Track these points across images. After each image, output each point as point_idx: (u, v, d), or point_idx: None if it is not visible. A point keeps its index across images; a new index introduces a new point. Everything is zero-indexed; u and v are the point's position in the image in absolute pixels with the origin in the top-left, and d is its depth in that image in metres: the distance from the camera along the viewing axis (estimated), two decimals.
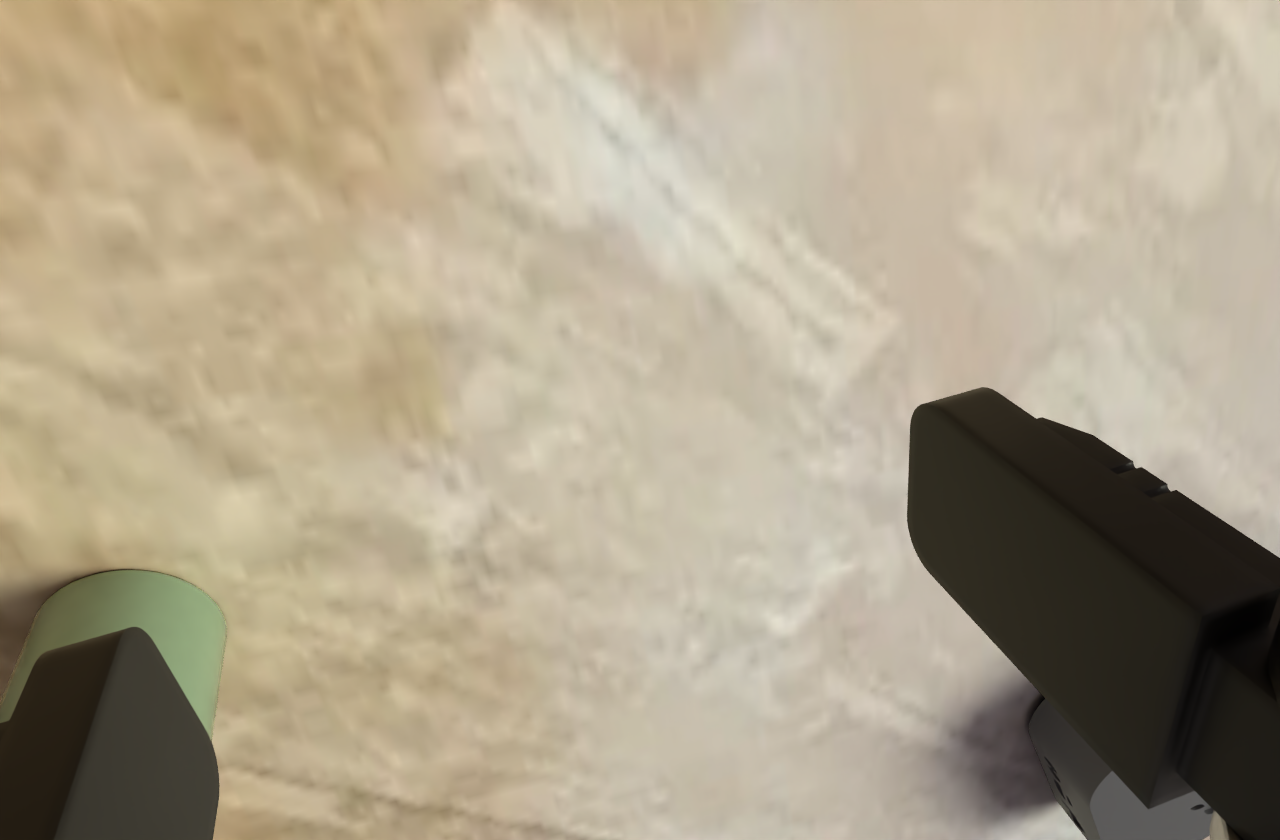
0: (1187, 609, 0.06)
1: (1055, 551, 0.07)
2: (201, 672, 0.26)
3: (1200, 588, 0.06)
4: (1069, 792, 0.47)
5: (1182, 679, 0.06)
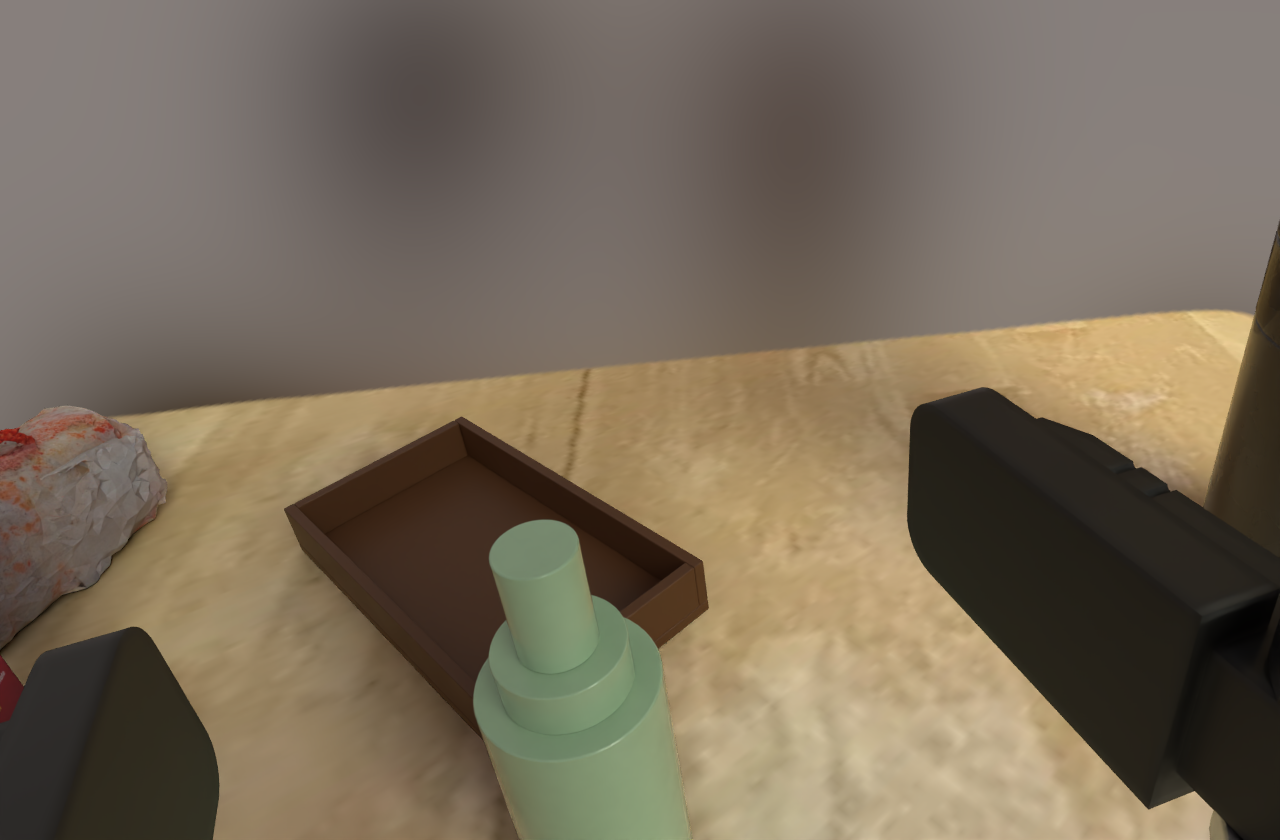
0: (1187, 609, 0.06)
1: (1055, 551, 0.07)
2: None
3: (1200, 588, 0.06)
4: None
5: (1182, 679, 0.06)
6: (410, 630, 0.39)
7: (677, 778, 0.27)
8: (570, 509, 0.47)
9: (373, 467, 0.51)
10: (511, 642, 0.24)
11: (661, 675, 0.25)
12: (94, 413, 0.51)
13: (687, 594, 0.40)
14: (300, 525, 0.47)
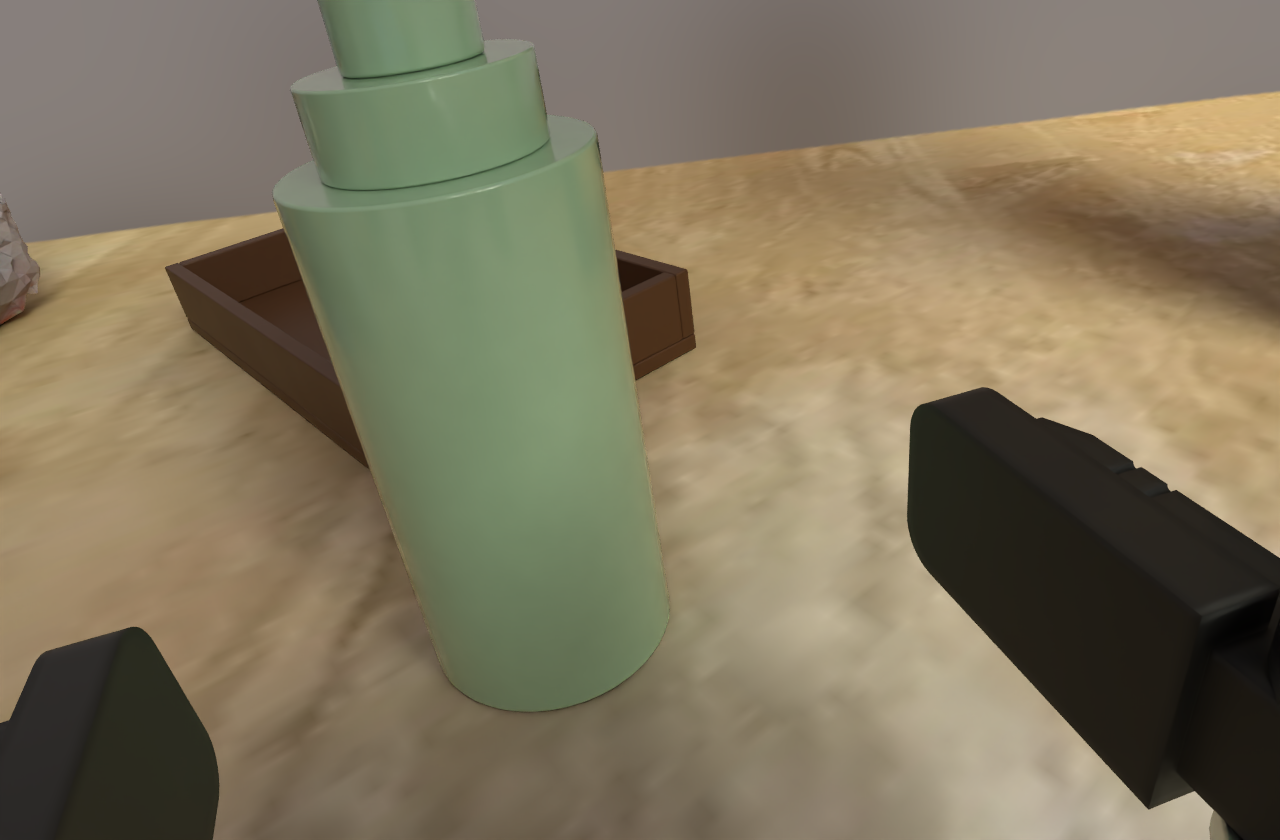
0: (1186, 609, 0.06)
1: (1055, 551, 0.07)
2: (626, 552, 0.17)
3: (1200, 588, 0.06)
4: None
5: (1182, 679, 0.06)
6: (290, 347, 0.29)
7: (626, 368, 0.16)
8: None
9: (283, 231, 0.41)
10: (336, 73, 0.14)
11: (593, 138, 0.15)
12: None
13: (666, 314, 0.30)
14: (180, 278, 0.37)
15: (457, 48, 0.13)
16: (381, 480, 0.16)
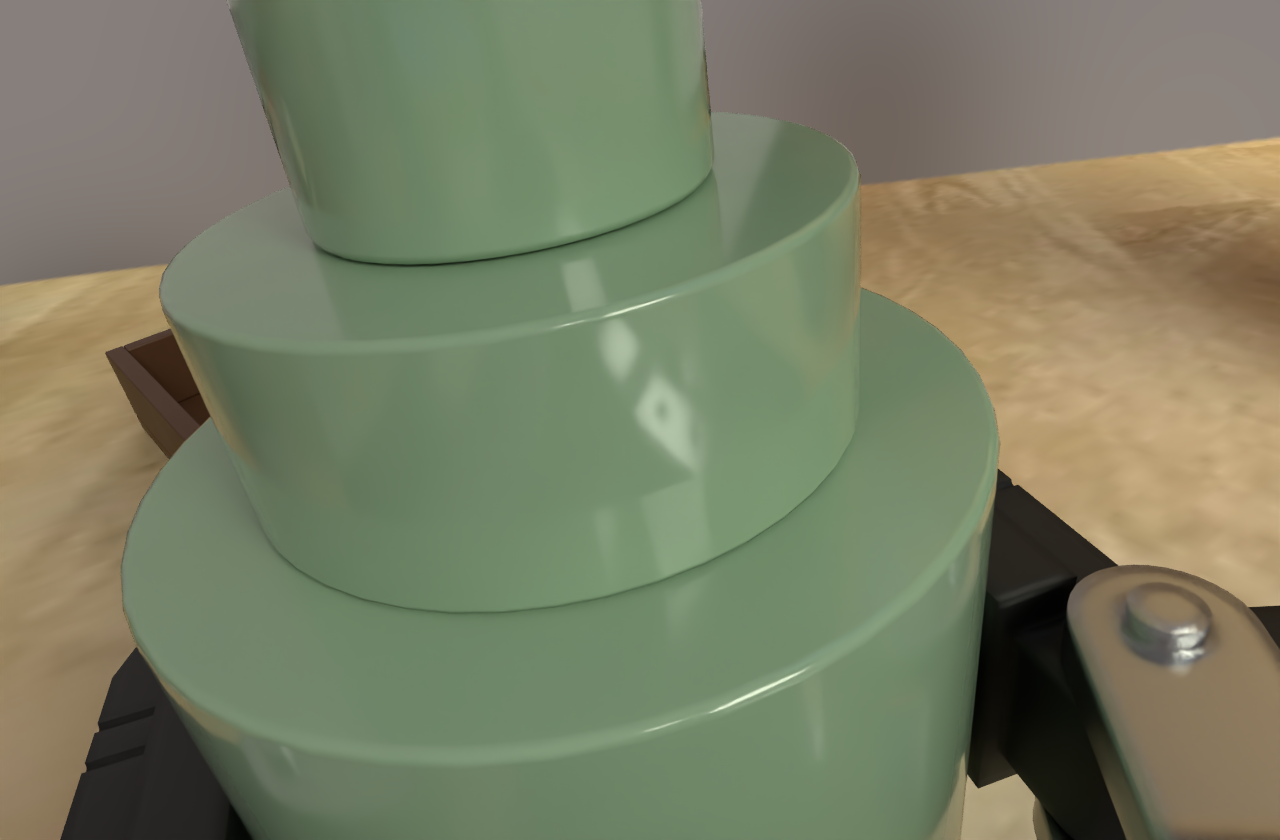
0: (988, 594, 0.06)
1: None
2: None
3: (1003, 576, 0.07)
4: None
5: (992, 662, 0.07)
6: None
7: None
8: None
9: None
10: None
11: (979, 381, 0.06)
12: None
13: None
14: (122, 371, 0.28)
15: (668, 171, 0.04)
16: None
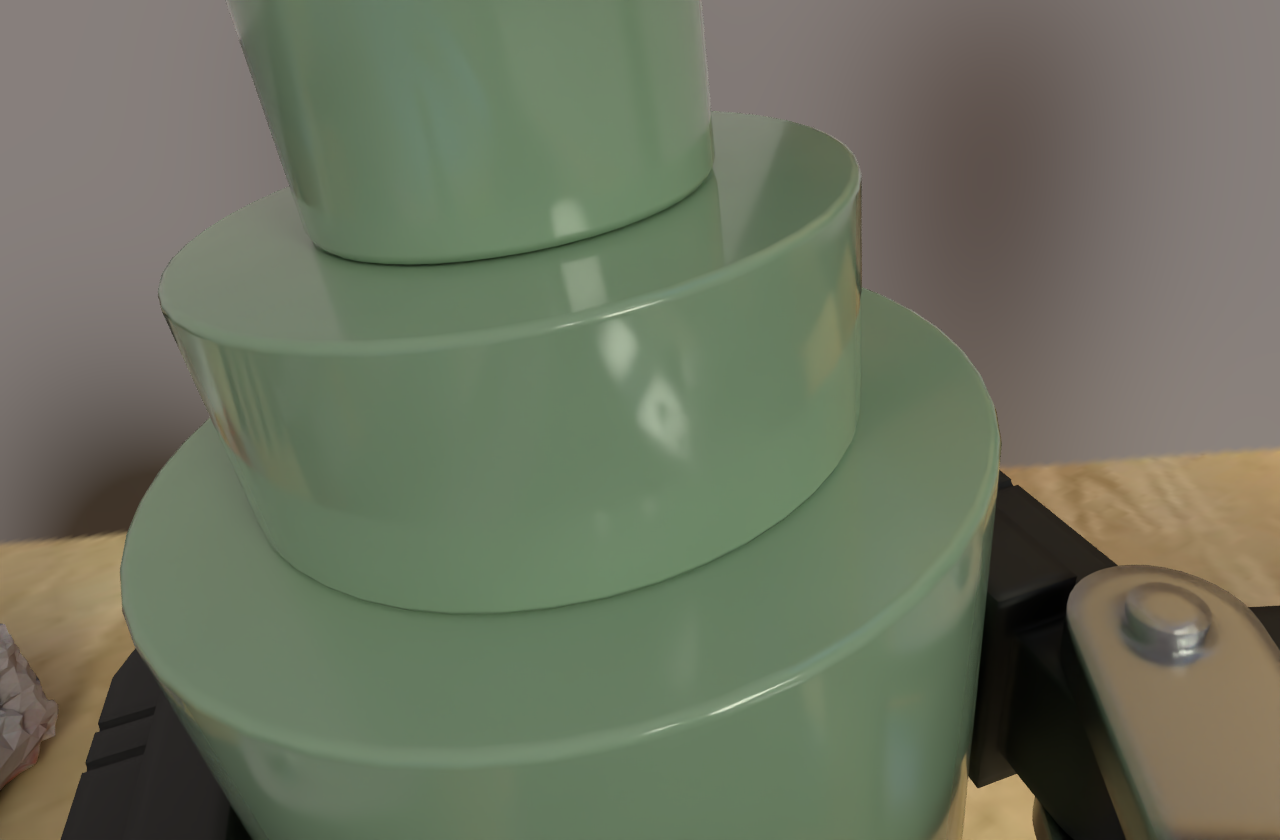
0: (988, 596, 0.06)
1: None
2: None
3: (1003, 576, 0.07)
4: None
5: (991, 663, 0.07)
6: None
7: None
8: None
9: None
10: None
11: (980, 381, 0.06)
12: None
13: None
14: None
15: (668, 170, 0.04)
16: None
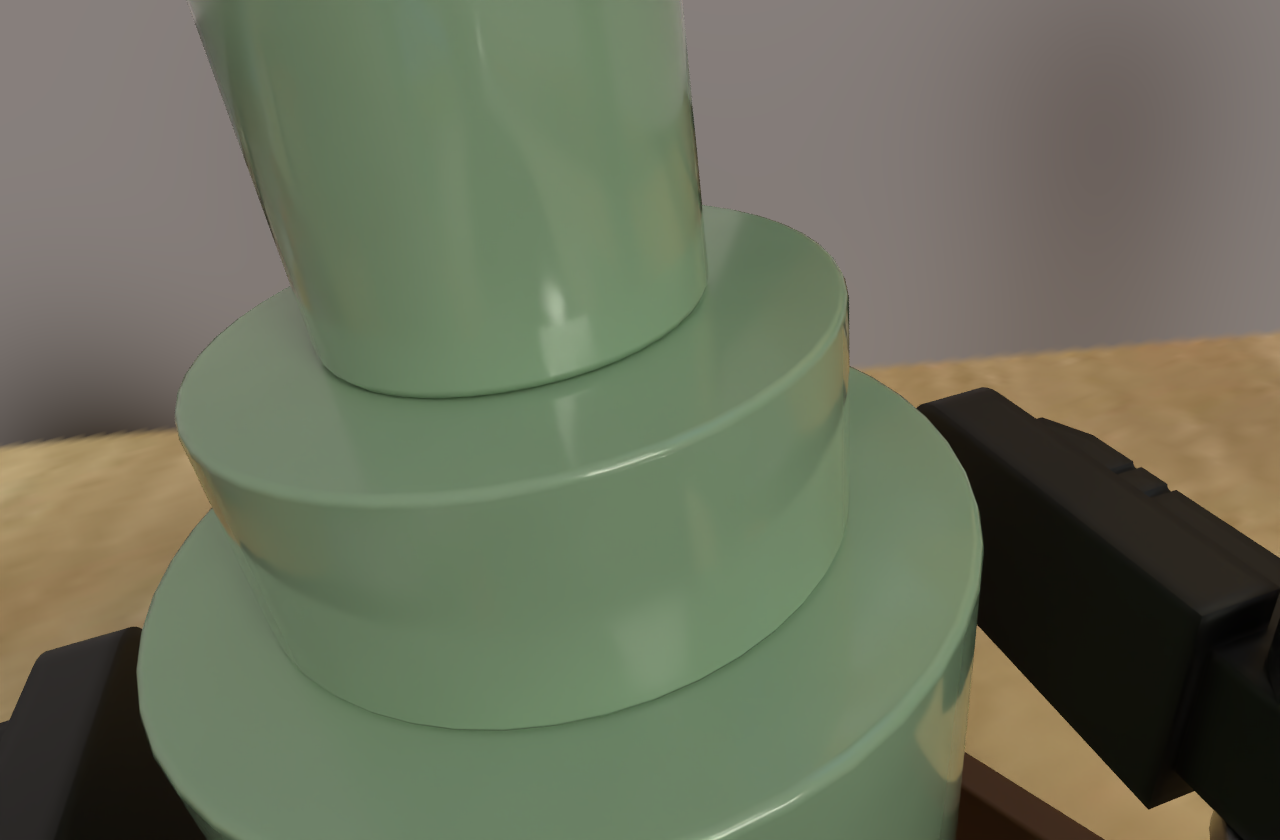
0: (1187, 609, 0.06)
1: (1055, 551, 0.07)
2: None
3: (1200, 588, 0.06)
4: None
5: (1182, 679, 0.06)
6: None
7: None
8: None
9: None
10: None
11: (964, 478, 0.06)
12: None
13: None
14: None
15: (663, 303, 0.04)
16: None
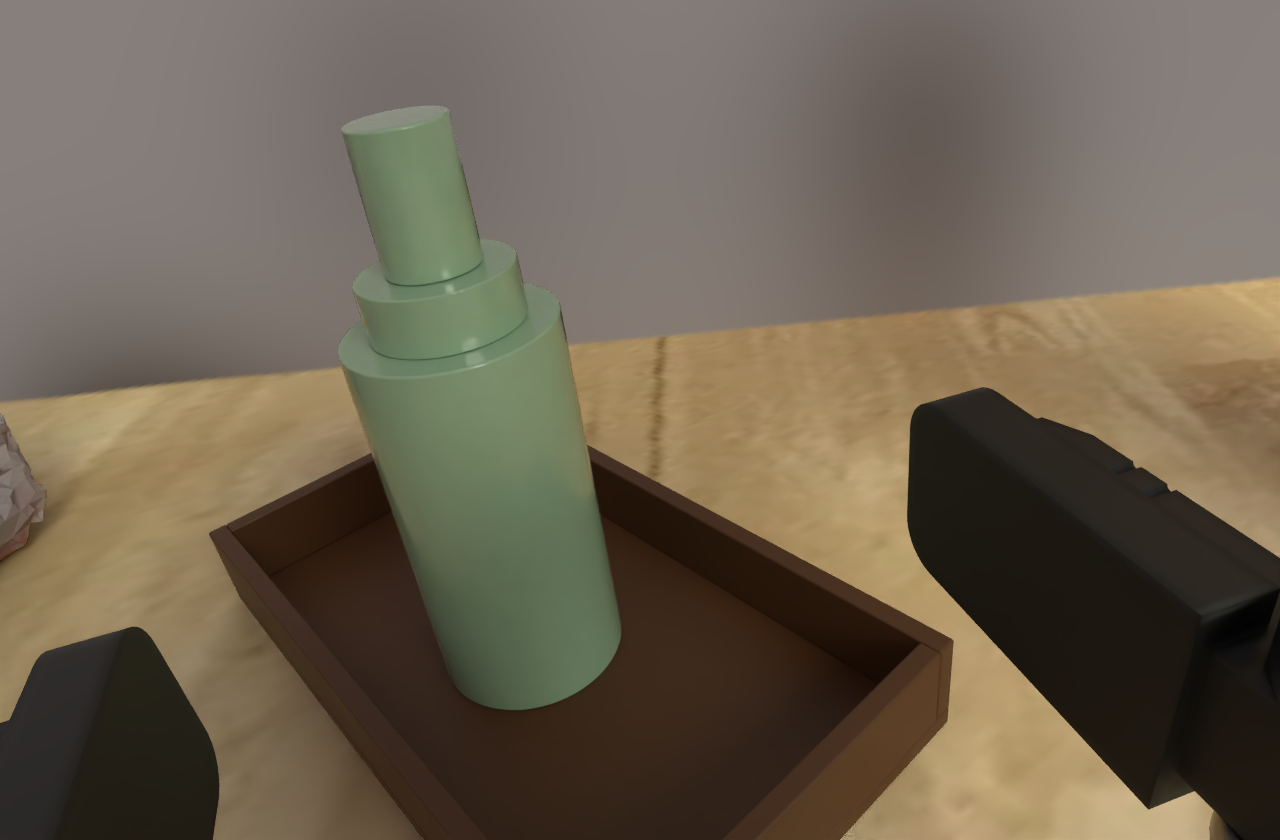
0: (1187, 607, 0.06)
1: (1055, 551, 0.07)
2: (584, 593, 0.24)
3: (1200, 588, 0.06)
4: None
5: (1182, 679, 0.06)
6: (410, 772, 0.20)
7: (583, 464, 0.23)
8: (675, 537, 0.29)
9: (355, 468, 0.33)
10: (381, 271, 0.21)
11: (557, 314, 0.21)
12: None
13: (925, 702, 0.22)
14: (231, 561, 0.29)
15: (465, 265, 0.20)
16: (409, 545, 0.23)
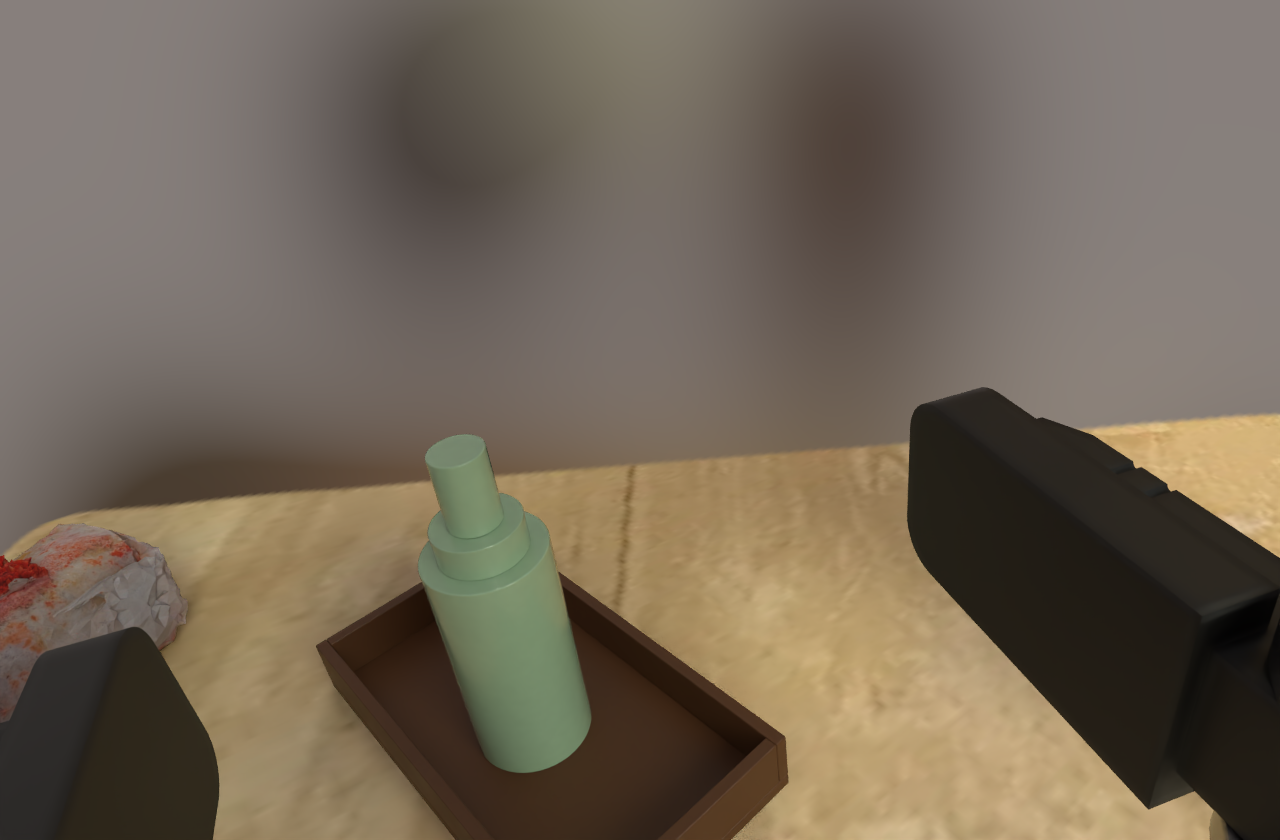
0: (1187, 609, 0.06)
1: (1055, 551, 0.07)
2: (566, 702, 0.39)
3: (1200, 588, 0.06)
4: None
5: (1182, 679, 0.06)
6: (462, 817, 0.35)
7: (564, 626, 0.38)
8: (628, 652, 0.43)
9: (411, 595, 0.47)
10: (444, 522, 0.36)
11: (547, 546, 0.36)
12: (111, 534, 0.48)
13: (768, 773, 0.36)
14: (334, 668, 0.43)
15: (494, 525, 0.35)
16: (458, 676, 0.37)
